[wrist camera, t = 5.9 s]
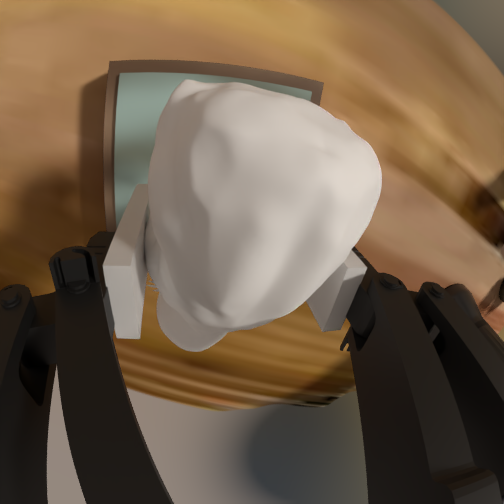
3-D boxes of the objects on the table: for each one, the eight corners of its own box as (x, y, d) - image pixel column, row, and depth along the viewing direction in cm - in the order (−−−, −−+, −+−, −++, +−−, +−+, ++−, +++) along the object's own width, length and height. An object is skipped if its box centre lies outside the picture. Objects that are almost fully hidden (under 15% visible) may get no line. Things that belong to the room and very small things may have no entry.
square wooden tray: (274, 238, 30) (287, 261, 27) (117, 234, 26) (108, 258, 23) (304, 82, 22) (325, 82, 19) (121, 65, 18) (108, 60, 15)
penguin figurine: (457, 185, 5) (263, 427, 11) (320, 108, 12) (236, 298, 18) (162, 52, 3) (119, 422, 9) (185, 62, 10) (134, 282, 16)
